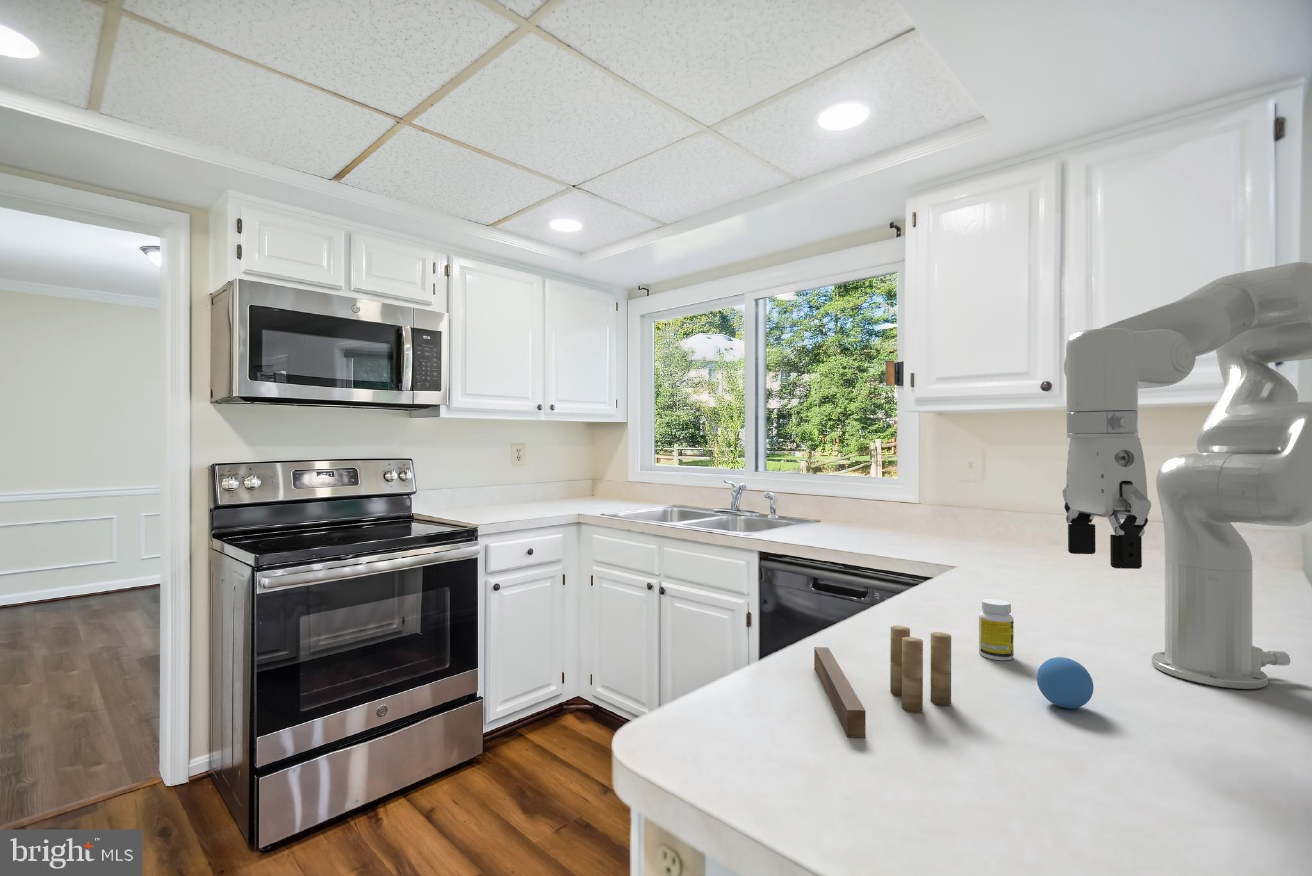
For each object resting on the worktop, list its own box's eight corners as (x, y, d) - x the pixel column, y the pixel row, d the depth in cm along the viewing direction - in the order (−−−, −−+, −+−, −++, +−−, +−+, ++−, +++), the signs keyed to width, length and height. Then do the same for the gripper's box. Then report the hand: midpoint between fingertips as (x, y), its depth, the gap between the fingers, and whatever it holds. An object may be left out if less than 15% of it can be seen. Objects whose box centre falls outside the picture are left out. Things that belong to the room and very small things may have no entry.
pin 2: (919, 705, 80) (919, 637, 80) (925, 713, 78) (925, 643, 78) (899, 704, 80) (899, 636, 80) (905, 712, 78) (905, 642, 78)
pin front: (946, 698, 82) (947, 632, 82) (954, 706, 80) (954, 638, 80) (927, 697, 82) (927, 631, 82) (934, 705, 80) (934, 637, 80)
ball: (1075, 697, 83) (1075, 651, 83) (1104, 717, 77) (1104, 667, 77) (1027, 696, 83) (1027, 649, 83) (1052, 715, 77) (1052, 666, 77)
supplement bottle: (1018, 662, 96) (1018, 606, 96) (984, 660, 97) (984, 604, 97) (1007, 652, 101) (1007, 598, 101) (975, 650, 102) (975, 597, 102)
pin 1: (906, 689, 85) (906, 625, 85) (912, 696, 83) (912, 631, 83) (888, 689, 85) (888, 625, 85) (893, 696, 83) (893, 630, 83)
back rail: (828, 668, 93) (828, 647, 93) (865, 737, 71) (865, 710, 71) (814, 667, 93) (814, 647, 93) (847, 736, 71) (847, 709, 71)
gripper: (1180, 425, 73) (1181, 575, 73) (1094, 427, 90) (1095, 549, 90) (1109, 425, 73) (1110, 574, 73) (1038, 428, 91) (1039, 548, 91)
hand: (1102, 560), depth 82 cm, fingers open, 9 cm apart
